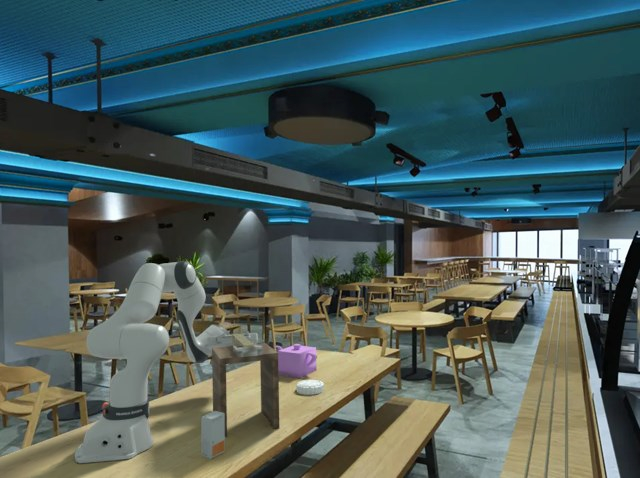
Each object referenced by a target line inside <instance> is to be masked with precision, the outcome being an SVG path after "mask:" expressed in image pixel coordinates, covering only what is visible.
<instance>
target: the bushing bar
mask: <svg viewBox="0 0 640 478" xmlns="http://www.w3.org/2000/svg"><path fill="white" fill-rule="evenodd" d="M243 334H244V333H232V334H231V335H232V344H233V345H234V346H238V347H239V348H243V347H253V346H254V344H253V343H252V342H251V341H250V340H249V339H247V338H246V337H245V336H244V335H243Z"/></svg>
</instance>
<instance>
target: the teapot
mask: <svg viewBox="0 0 640 478" xmlns="http://www.w3.org/2000/svg"><path fill="white" fill-rule="evenodd" d="M274 347H275V348H276V349H277V352H278V371H279V375H280V376H283V377H289V378H290V377H291V378H297V379H300V378H303V377H305V376H308V375H310V374H312V373H314V372H316V371H317V369H318V368H317V359H318V356H317V347H316V346H306V345H302V344H300V343H294V344H293V345H291V346H289V347H286V348H282V346H280V345H275V346H274Z"/></svg>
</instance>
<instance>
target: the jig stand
mask: <svg viewBox="0 0 640 478" xmlns="http://www.w3.org/2000/svg"><path fill="white" fill-rule="evenodd" d="M277 351H278V350H277ZM277 351H276V350H275V349H274V348H273V347H271V346H270V345H268V344H267V343H266V342H261V343H259V342H258V343H257V344H254V346H253V347H243V348H239V347H238V346H228V347H217V348H212V354H211V364H212V365H211V369H212V373H211V374H212V377H211V378H212V412H214V411H218V412H222V413H225V438H228V418H227V417H228V416H227V415H228V414H227V412H228V410H227V409H228V408H227V401H228V400H227V365H226V364H229V365H230V364H240V363H248V362H249V363H251V362H258V361H260V412H261V414H262V415H263V417H264V418H265V419H266V421H267V422H268V424H269V425H270V426H271V427H272V429H273V430H277V429H280V387H279V385H280V383H279V378H280V377H279V371H278V352H277Z"/></svg>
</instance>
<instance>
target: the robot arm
mask: <svg viewBox="0 0 640 478" xmlns="http://www.w3.org/2000/svg"><path fill="white" fill-rule="evenodd" d="M165 293H173V294H174V295H175V298H176V300H177V311H176V313H175V316H176V321H177V324H178V327H179V331H180V334H181V337H182V340H183V343H184V348H185V353H186V356H187V357H188V359H189V360H190V361H191V362H192V363H193V364H203V363H205V362H206V361H207V360H208V359H209V358H210V357H211V356H212V348H217V347H228V346H234V345H233V344H232V334H231V333H230V332H229V331H228V330H227V328H225V327H224V326H223V325H220V324H216V323H215V324H210V326H209V327H207V328H206V329H205V330H204V331H202V333H200V334H199V335H197V337H196V335H195V331H194V327H193V323H194V321H195V318H196V317H197V315H198V314H199V312H200V311H201V309H202V308H203V307H204V306H205V305H204V304H205V302H206V298H207V297H206V296H207V295H206V292H205V288H204V287H203V285H202V283H201V281H200V279H199V277H198V276H197V271H196V269H195V266H194V265H193V264H192V263H191V262H189V261H185V260H181V261H176V262H174V261H173V262H168V263H160V264H158V263H152V262H149V263H144V264H142V265H141V266H140V267H139V269H138V270H137V272H136V273H135V275H134V277H133V279H132V280H131V282H130V285H129V287H128V290H127V292H126V295H125V297H124V299H123V301H122V303H121V305H120V306H119V308H118V309H117V310H116V311H115V312H114V313H113V314H112V315H110V317H108V318H107V319H106V320H105V321H103V322H102V323H100V324H98V325H96V326H94V327H93V328H92V329H91V330H90V331H89V333H88V334H87V336H86V343H85V345H86V349H87V351H88V353H89V354H90V355H91V356H93V357H96V358H100V359H101V358H102V359H107V360H108V359H110V360H111V359H114V360H115V359H119V360H120V359H123V360H124V359H125V360H126V365H125V368H123V369H121V370H119V371H117V372H116V373H115V374H113V376H111V379H110V381H109V402H107V401H105V402H103V404H102V406H101V409H102V417H101V418H100V419H99V420H98V421H96V422H95V423H93V425H92V426H90V427H89V428H88V429H87V430H86V433H85V435H84V437H83V440H82V441H83V442H82V443H81V444H80V445H79V446H78V447H77V448H76V449H75V452H74V461H75V462H76V463H77V462H78V464H87V463H88V464H89V463H99V462H111V461H120V460H129V459H132V458H134V457H135V456H137V455H138V454H140V453H143V452H145V451H147V450H148V449H149V448H151V447H152V446H153V444H154V439H153V436H152V432H151V428H150V421H149V418H150V400H149V398H148V384H149V383H148V382H149V375H150V371H151V368H153V367H152V366H153V365H154V363H155V362H156V361H157V360H159V358H160V357H162V356H163V355H164V354H165V353H166V351H167V349H168V347H169V344H170V335H169V332H168V331H167V329H166V327H165V326H163V325H159V324H155V323H154V324H153V323H145V322H148V321H149V320H151V319H153V318H154V317H155V316H156V314H157V313H158V308H159V305H160V302H161V300H162V295H163V294H165ZM242 334H243V335H244V336H245V337H246V338H247V339H249V340H250V341H251V342H252V343H253V344H258V343H259V335H258V333H257V332H250V331H245V332H244V333H242ZM228 365H230V364H226V366H228Z"/></svg>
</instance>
